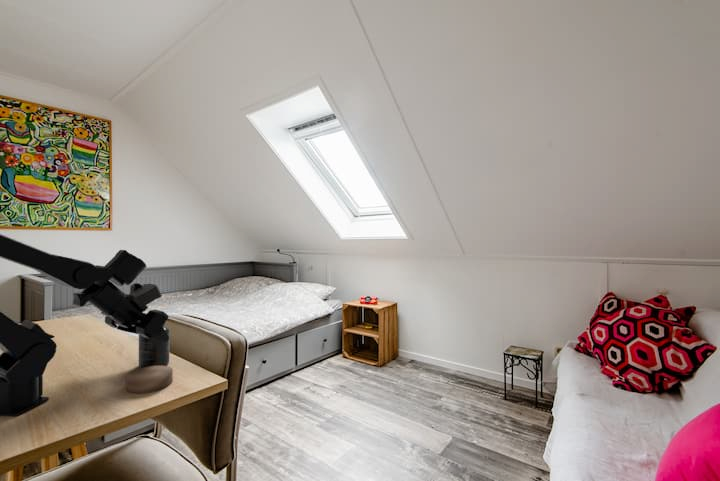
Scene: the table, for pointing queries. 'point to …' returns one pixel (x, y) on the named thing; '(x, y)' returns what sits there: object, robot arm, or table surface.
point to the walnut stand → (148, 379)
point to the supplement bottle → (153, 351)
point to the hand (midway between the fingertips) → (159, 337)
